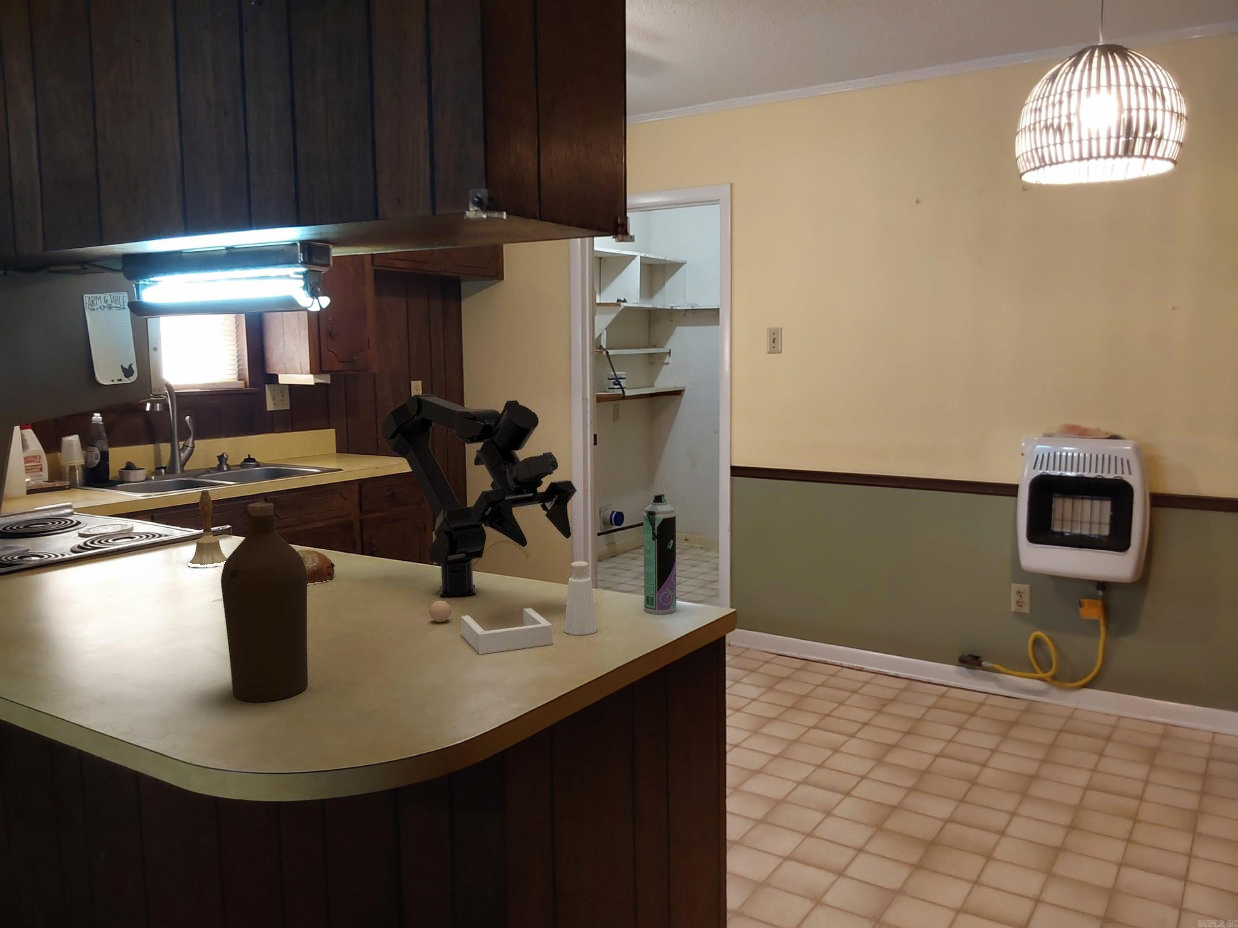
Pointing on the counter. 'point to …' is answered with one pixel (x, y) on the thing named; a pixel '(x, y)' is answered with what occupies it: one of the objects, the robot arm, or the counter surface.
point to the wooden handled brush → (207, 536)
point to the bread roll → (317, 566)
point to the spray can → (659, 557)
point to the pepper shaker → (580, 602)
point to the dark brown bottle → (265, 612)
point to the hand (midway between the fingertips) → (547, 541)
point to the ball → (440, 611)
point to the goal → (508, 634)
